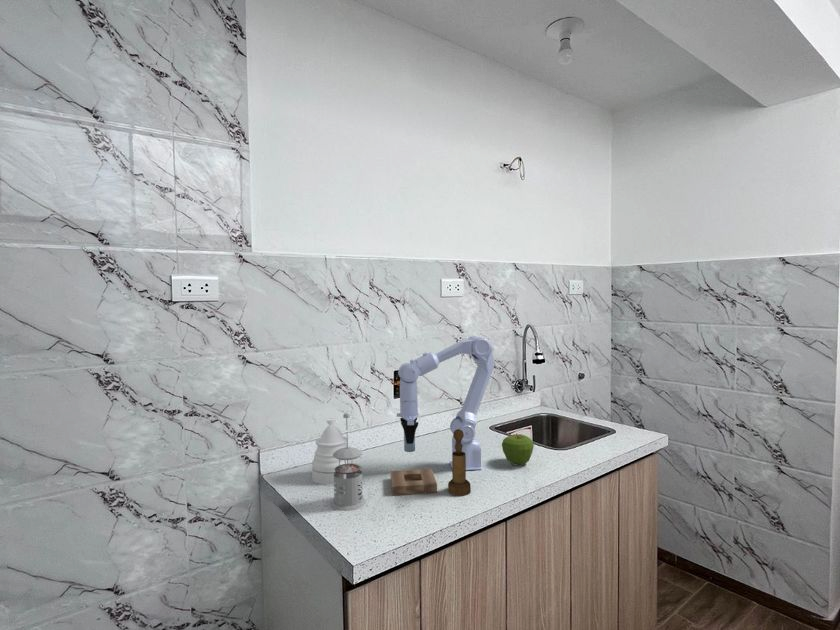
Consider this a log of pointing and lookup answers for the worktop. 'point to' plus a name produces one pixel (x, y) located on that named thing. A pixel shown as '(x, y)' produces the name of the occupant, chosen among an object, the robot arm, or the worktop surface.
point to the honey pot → (328, 454)
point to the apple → (517, 449)
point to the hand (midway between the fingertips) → (409, 441)
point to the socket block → (413, 482)
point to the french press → (347, 479)
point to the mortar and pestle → (459, 469)
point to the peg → (409, 445)
